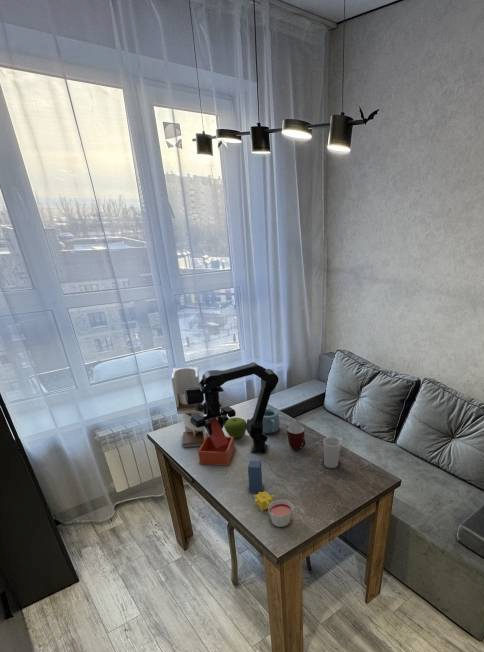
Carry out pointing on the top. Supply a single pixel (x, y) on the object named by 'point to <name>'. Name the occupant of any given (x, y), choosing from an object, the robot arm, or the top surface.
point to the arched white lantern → (180, 382)
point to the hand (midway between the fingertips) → (214, 433)
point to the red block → (217, 434)
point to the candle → (280, 512)
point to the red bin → (216, 452)
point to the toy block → (263, 500)
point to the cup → (331, 451)
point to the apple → (235, 427)
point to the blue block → (255, 476)
